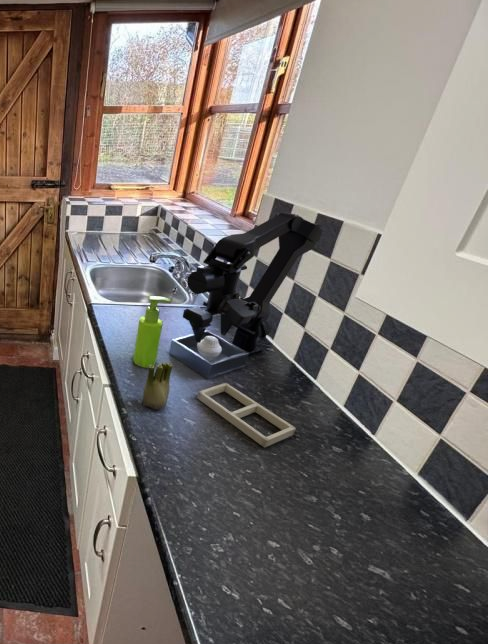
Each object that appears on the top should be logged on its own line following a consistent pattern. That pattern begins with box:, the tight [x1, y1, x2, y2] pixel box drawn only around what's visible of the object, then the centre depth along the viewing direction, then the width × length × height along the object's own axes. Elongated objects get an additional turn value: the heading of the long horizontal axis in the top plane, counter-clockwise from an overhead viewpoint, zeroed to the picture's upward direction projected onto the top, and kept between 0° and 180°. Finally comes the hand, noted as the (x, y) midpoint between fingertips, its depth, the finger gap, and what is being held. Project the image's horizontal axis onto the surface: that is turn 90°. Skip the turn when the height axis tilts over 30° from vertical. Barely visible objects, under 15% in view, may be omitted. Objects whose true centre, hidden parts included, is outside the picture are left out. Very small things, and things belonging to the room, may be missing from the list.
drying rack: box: [196, 382, 297, 448], centre depth 93 cm, size 9×17×2 cm, turn 22°
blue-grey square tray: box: [168, 329, 249, 380], centre depth 113 cm, size 14×14×5 cm
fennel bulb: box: [142, 361, 174, 411], centre depth 95 cm, size 6×5×12 cm
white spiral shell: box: [197, 336, 222, 361], centre depth 112 cm, size 6×6×7 cm
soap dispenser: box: [132, 295, 172, 369], centre depth 110 cm, size 6×7×20 cm
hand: (210, 338), depth 111 cm, fingers open, 9 cm apart
